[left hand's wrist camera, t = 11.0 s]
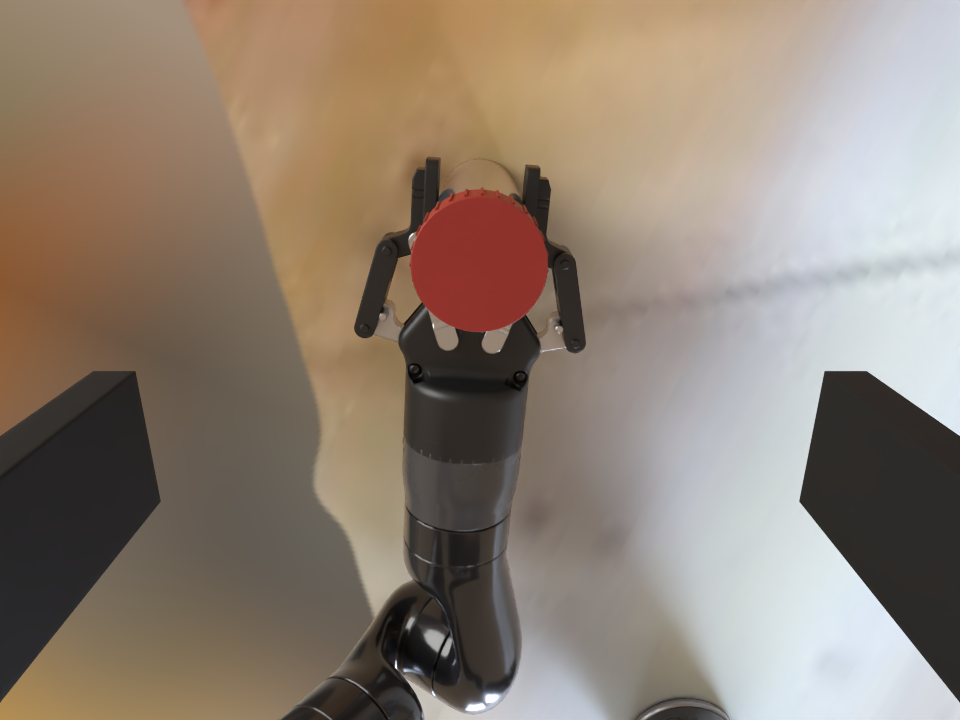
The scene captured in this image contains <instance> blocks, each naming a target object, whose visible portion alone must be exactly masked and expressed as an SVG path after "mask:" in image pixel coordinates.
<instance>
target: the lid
mask: <svg viewBox="0 0 960 720" xmlns="http://www.w3.org/2000/svg"><path fill="white" fill-rule="evenodd" d="M423 221H424V223H423V224H422V225H420V226H419V228H418V230H417V232H416V234H415V235H416V236H417V237H416V239H415V241H414V243H413V245H412V247H411V251H412V254H411V262H410V267H411V275H412V281H413V284H414V287H415V289H416V292H417V294H418V296H419V298H420V299H421V301H422V302H423V304H424V305H425V306H426V308H427V309H428V310H429V311H430V312H431V313H432V314H433V315H434V316H436V317H437V318H438V319H439V320H441V321H443V322H444V323H446V324H448V325H450V326H452V327H455V328H458V329H461V330H465V331H471V332H487V331H493V330H498V329H501V328H504V327H507V326H509V325H511V324H513V323H514V322H516V321H517V320H519V319H520V318H522V317H523V316H524V315H525V314H526V313H528V312H529V310H530V309H531V308H532V307H533V306H534V305H535V303H536V302H537V300H538V299H539V297H540V295H541V293H542V291H543V288H544V286H545V282H546V277H547V272H548V258H547V257H548V256H549V254H548V252H547V250H546V247H545V244H544V241H545V238H544V236H543V234H542V231H541V230H539V229H538V223H537V221H536V219H535V217H534V216H533V217H531V215H530V214H529V213H528V211H527V209H526V206H525V205H523V206H522V205H520V204H519V203H518V202H517V201H515V200H514V198H513V196H510V197H509V196H507V195H504V194H502V193H499V190H496V191H491V190H484V188H482V187H481V189H475V190H468V188H467V189H465V191H463V192H459V193H457V194H454V195H453V193H452V194H450V197H448V198H446V199H445V200H443V201H442V202H440V201H439V202H437V205H436V207H435V208H434V209H433V210H432V211H431V212H430V213H429V212H428V213H427V214H426V216H425V218H424V220H423Z"/></svg>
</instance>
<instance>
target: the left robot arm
mask: <svg viewBox="0 0 960 720" xmlns="http://www.w3.org/2000/svg"><path fill="white" fill-rule="evenodd" d="M799 502H800V503H801V504H802V505H803V507H804V508H805V509H806V510H807V512H808V513H809V514H810V515H811V517H812V518H813V519H814V520H815V522H816V523H817V524H818V525H819V527H820V528H821V529H822V530H823V532H824V533H825V534H826V535H827V537H828V538H829V539H830V540H831V542H832V543H833V544H834V545H835V547H836V548H837V549H838V550H839V552H840V553H841V554H842V555H843V557H844V558H845V559H846V560H847V562H848V563H849V564H850V565H851V567H852V568H853V569H854V570H855V572H856V573H857V574H858V575H859V577H860V578H861V579H862V580H863V582H864V583H865V584H866V586H867V587H868V588H869V589H870V591H871V592H872V593H873V594H874V596H875V597H876V598H877V599H878V601H879V602H880V603H881V604H882V606H883V607H884V608H885V609H886V611H887V612H888V613H889V614H890V616H891V617H892V618H893V619H894V621H895V622H896V623H897V624H898V626H899V627H900V628H901V629H902V631H903V632H904V633H905V634H906V636H907V637H908V638H909V639H910V641H911V642H912V643H913V644H914V646H915V647H916V648H917V649H918V651H919V652H920V653H921V654H922V656H923V657H924V658H925V659H926V661H927V662H928V663H929V664H930V666H931V667H932V668H933V669H934V671H935V672H936V673H937V674H938V676H939V677H940V678H941V679H942V681H943V682H944V683H945V684H946V686H947V687H948V688H949V689H950V691H951V692H952V693H953V694H954V696H955V697H956V698H957V699H958V701H959V702H960V436H959V435H957V434H956V433H954V432H953V431H952V430H950V429H949V428H947V427H946V426H944V425H943V424H942V423H940V422H939V421H937V420H936V419H934V418H933V417H932V416H930V415H929V414H927V413H926V412H924V411H923V410H922V409H920V408H919V407H917V406H916V405H914V404H913V403H911V402H910V401H909V400H907V399H906V398H904V397H903V396H901V395H900V394H899V393H897V392H896V391H894V390H893V389H891V388H890V387H889V386H887V385H886V384H884V383H883V382H881V381H880V380H879V379H877V378H876V377H874V376H873V375H871V374H870V373H868V372H867V371H825V372H824V377H823V382H822V388H821V393H820V398H819V403H818V408H817V413H816V418H815V424H814V429H813V434H812V439H811V444H810V449H809V454H808V460H807V465H806V470H805V475H804V480H803V485H802V490H801V496H800V501H799ZM159 503H160V496H159V491H158V485H157V480H156V475H155V470H154V465H153V460H152V455H151V449H150V444H149V439H148V434H147V429H146V424H145V419H144V413H143V408H142V403H141V398H140V393H139V388H138V383H137V377H136V372H135V371H93V372H92V373H90V374H89V375H87V376H86V377H84V378H83V379H82V380H80V381H79V382H77V383H76V384H74V385H73V386H71V387H70V388H69V389H67V390H66V391H64V392H63V393H61V394H60V395H59V396H57V397H56V398H54V399H53V400H51V401H50V402H49V403H47V404H46V405H44V406H43V407H41V408H40V409H38V410H37V411H36V412H34V413H33V414H31V415H30V416H29V417H27V418H26V419H24V420H23V421H21V422H20V423H18V424H17V425H16V426H14V427H13V428H11V429H10V430H8V431H7V432H6V433H4V434H3V435H1V436H0V702H1V701H2V699H3V698H4V697H5V696H6V694H7V693H8V692H9V691H10V689H11V688H12V687H13V686H14V684H15V683H16V682H17V681H18V679H19V678H20V677H21V676H22V674H23V673H24V672H25V671H26V669H27V668H28V667H29V666H30V664H31V663H32V662H33V661H34V659H35V658H36V657H37V656H38V654H39V653H40V652H41V651H42V649H43V648H44V647H45V646H46V644H47V643H48V642H49V640H50V639H51V638H52V637H53V636H54V634H55V633H56V632H57V631H58V629H59V628H60V627H61V626H62V624H63V623H64V622H65V621H66V619H67V618H68V617H69V616H70V614H71V613H72V612H73V610H74V609H75V608H76V607H77V606H78V604H79V603H80V602H81V601H82V599H83V598H84V597H85V596H86V594H87V593H88V592H89V590H90V589H91V588H92V587H93V585H94V584H95V583H96V582H97V580H98V579H99V578H100V577H101V575H102V574H103V573H104V572H105V570H106V569H107V568H108V567H109V565H110V564H111V563H112V562H113V560H114V559H115V558H116V557H117V555H118V554H119V553H120V552H121V550H122V549H123V548H124V547H125V545H126V544H127V543H128V542H129V540H130V539H131V538H132V537H133V535H134V534H135V533H136V532H137V530H138V529H139V528H140V527H141V525H142V524H143V523H144V522H145V520H146V519H147V518H148V517H149V515H150V514H151V513H152V512H153V510H154V509H155V508H156V507H157V505H158V504H159Z"/></svg>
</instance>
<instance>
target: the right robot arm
mask: <svg viewBox="0 0 960 720" xmlns="http://www.w3.org/2000/svg"><path fill="white" fill-rule="evenodd" d="M439 183H440V158H436V157H427V158H426V165H425V168H422V167H418V169H417V170H416V172H415V174H414V176H413V179H412V205H411V225H410V227H409V228H407V229H406V230H403V231H399V232H396V233H393V232H390V233H387V234H385V235H384V237H383V238H382V240H381V241H380V242H379V243H378V245H377V247H376V250H375V254H374V258H373V261H372V265H371V268H370V272H369V276H368V279H367V283H366V286H365V290H364V293H363V297H362V301H361V304H360V308H359V311H358V315H357V319H356V322H355V326H354V329H355V332H356V334H357V335H358V336H359V337H362V338H369V337H371V336H372V335H377V336H380V337H383V338H386V339H390V340H393V341H396V342H398V343H399V347H400V349H401V351H402V353H403V355H404V357H405V361H406V385H405V411H404V437H403V481H404V488H405V513H404V561H405V565H406V568H407V570H408V572H409V574H410V576H411V577H412V578H413V579H414V580H411V581H409V582H407V583H405V584H403V585H401V586H400V587H398V588H397V589H396V590H395V591H394V592H393V593H392V594H391V595H390V596H389V598H388V599H387V600H386V602H385V603H384V605H383V606H382V608H381V609H380V611H379V613H378V614H377V616H376V617H375V619H374V620H373V622H372V624H371V625H370V626H369V628H368V629H367V631H366V632H365V634H364V635H363V636H362V638H361V639H360V640H359V642H358V643H357V644H356V646H355V647H354V648H353V650H352V651H351V653H350V654H349V655H348V657H347V658H346V659H345V661H344V662H343V663H342V665H341V666H340V667H339V668H338V670H337V671H336V672H335V673H333V674H332V675H331V676H330V677H328V678H327V679H326V680H325V681H324V682H322V683H321V684H320V685H319V686H317V687H316V688H315V689H314V690H313V691H311V692H310V693H309V694H308V695H307V696H305V697H304V698H303V699H302V700H301V701H299V702H298V703H297V704H296V705H295V706H294V707H292V708H291V709H290V710H289V711H288V712H287V713H285V714H284V715H283V716H282V717H281V718H280V719H278V720H424V714H423V710H422V707H421V704H420V702H419V700H418V698H417V696H416V694H415V692H414V691H413V689H412V688H411V686H410V685H409V683H408V682H407V681H406V679H408V680H410V681H411V682H413V683H414V684H416V685H417V686H419V687H420V688H422V689H423V690H425V691H426V692H428V693H429V694H431V695H433V696H434V697H436V698H437V699H439V700H440V701H442V702H443V703H445V704H446V705H448V706H450V707H451V708H453V709H455V710H457V711H459V712H462V713H465V714H473V715H474V714H481V713H484V712H486V711H489V710H491V709H492V708H494V707H495V706H496V705H498V704H499V703H500V702H501V701H502V700H503V699H504V698H505V697H506V695H507V694H508V693H509V691H510V689H511V687H512V685H513V683H514V681H515V678H516V676H517V672H518V668H519V664H520V658H521V648H522V646H521V627H520V621H519V615H518V610H517V605H516V600H515V596H514V591H513V586H512V580H511V574H510V570H509V566H508V562H507V556H506V549H507V542H508V532H509V523H510V513H511V505H512V499H513V495H514V492H515V488H516V484H517V480H518V474H519V465H520V455H521V446H522V437H523V428H524V419H525V409H526V400H527V391H528V381H529V373H530V370H531V367H532V365H533V364H534V362H535V361H536V360H537V358H538V357H539V355H540V352H544V351H550V350H556V349H562V348H566V349H567V350H568V351H569V352H571V353H579V352H581V351H582V350H583V349H584V348H585V345H586V340H585V332H584V325H583V317H582V309H581V301H580V293H579V285H578V277H577V269H576V262H575V259H574V257H573V256H572V254H571V252H570V251H569V249H568V248H567V247H565V246H563V245H558V244H556V243H554V242H552V241H550V240H549V239H548V238H547V237H546V230H547V220H548V211H549V202H550V193H551V188H550V185H549V181H548V179H547V178H546V177H540V167H539V166H536V165H526V167H525V175H524V186H523V196H522V203H523V205H525V206H526V209H527V211H528V213H529V214H530V215H531V217H533V216H534V217H535V219H536V221H537V223H538V229H539V230H541V231H542V234H543V236H544V238H545V241H544V244H545V247H546V250H547V252H548V254H549V256H548V257H547V258H548V267H549V268H551V269H552V273H553V281H554V288H555V295H556V302H557V309H558V311H557V312H553V313H551V314H550V315H549V316H548V318H547V324H546V327H545V329H544V330H543V331H542V332H540V333H537V332H536V330H535V329H534V327H533V326H532V324H531V322H530V321H529V319H528V317H527V316H526V314H525V315H524V316H523V317H522V318H520V319H519V320H517V321H516V322H514V323H513V324H511V325H509V326H507V327H504V328H501V329H498V330H493V331H487V332H471V331H465V330H461V329H458V328H455V327H452V326H450V325H448V324H446V323H444V322H443V321H441V320H439V319H438V318H437V317H436V316H434V315H433V314H432V313H431V312H430V311H429V310H428V309H427V308H426V306H425V305H424V304H423V302H422V303H421V304H420V305H419V306H418V308H417V309H416V310H415V311H414V312H413V314H412V315H411V316H410V317H409V318H408V320H407V321H406V322H405V323H404V324H403V323H401V322H400V321H399V320H398V319H397V317H396V306H395V304H394V303H393V302H392V301H390V300H388V299H386V298H387V295H388V291H389V288H390V285H391V281H392V278H393V274H394V271H395V267H396V264H397V261H398V258H400V257H403V256H407V255H410V254H412V251H411V247H412V245H413V243H414V241H415V239H416V237H417V236H416V235H415V234H416V232H417V230H418V228H419V226H420V225H422V224H423V223H424V221H423V220H424V218H425V216H426V214H427V213H428V212H429V213H430V212H431V211H432V210H433V209H434V208H435V206H436V203H437V201H438V199H439ZM405 678H406V679H405ZM636 720H729V718H728V717H727V715H726V714H725V713H724V712H723V711H722V710H721V709H719V708H718V707H716V706H715V705H713V704H711V703H708V702H705V701H702V700H697V699H674V700H669V701H665V702H662V703H659V704H657V705H655V706H653V707H651V708H649V709H647V710H646V711H645V712H643V713H642V714H641V715H640V716H639V717H638V718H637V719H636Z"/></svg>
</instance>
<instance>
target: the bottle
mask: <svg viewBox="0 0 960 720" xmlns="http://www.w3.org/2000/svg"><path fill="white" fill-rule="evenodd" d="M481 187H482V188H484V190H491V191H496V190H499V193H502V194H504V195H507V196H509V197H510V196H513V198H514V200H515V201H517V202H518V203H519V204H520V205H522V206H523V203H522V200H521V198H520V195H519V193H518V191H517V188H516V186H515V183H514V181H513V179H512V177H511V176H510V174H509V173H508V172H507V171H506V170H505V169H504V168H503V167H502V166H500V165H499V164H497V163H495V162H493V161H490V160H485V159H474V160H470V161H467V162H464V163H463V164H461V165H459V166H458V167H456V168H455V169H454V170H453V171H452V173H451V174H450V175H449V177H448V178H447V180H446V183H445V185H444V187H443V189H442V192H441V194H440V196H439V199H438V201H437V202H439V201H440V202H442V201H443V200H445V199H446V198H448V197H450V194H452V193H453V195H454V194H457V193H459V192H463V191H465V189H467V188H468V190H475V189H481ZM436 205H437V203H436ZM435 207H436V206H435Z"/></svg>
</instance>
